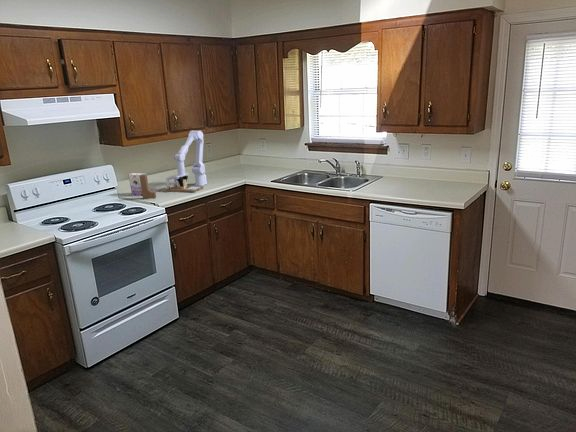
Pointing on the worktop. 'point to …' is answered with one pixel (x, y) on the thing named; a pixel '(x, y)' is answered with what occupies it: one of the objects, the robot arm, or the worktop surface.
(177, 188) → the puzzle board
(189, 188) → the pad
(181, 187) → the birch block
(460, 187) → the worktop surface
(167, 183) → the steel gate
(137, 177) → the candy box
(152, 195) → the brown boot
